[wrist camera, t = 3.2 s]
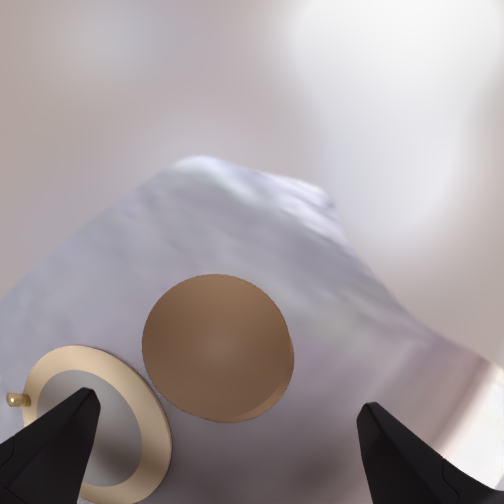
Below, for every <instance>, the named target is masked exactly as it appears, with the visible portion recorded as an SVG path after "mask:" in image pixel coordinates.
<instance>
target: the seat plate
mask: <svg viewBox="0 0 504 504" xmlns="http://www.w3.org/2000/svg"><path fill="white" fill-rule="evenodd" d="M82 387H87V388H91V389H93V390H94V391H95V392H96V395H97V397H98V399H99V402H100V404H101V411H100V416H99V420H98V425H97V430H96V435H95V440H94V444H93V448H92V451H91V454H90V458H89V461H88V464H87V467H86V471H85V474H84V478H83V481H82V485H81V488H80V492H79V497H81V498H83V499H85V500H88V501H90V502H93V503H97V504H133V503H137V502H139V501H141V500H143V499H145V498H146V497H147V496H149V495H150V494H151V493H152V492H153V491H154V490H155V489H156V488H157V487H158V486H159V484H160V483H161V482H162V480H163V478H164V477H165V475H166V473H167V470H168V468H169V465H170V460H171V454H172V440H171V432H170V428H169V424H168V421H167V417H166V414H165V412H164V410H163V408H162V406H161V403H160V402H159V400H158V398H157V396H156V395H155V393H154V392H153V390H152V389H151V388H150V386H149V385H148V383H147V382H146V381H145V380H144V379H143V378H142V377H141V376H140V375H139V374H138V373H137V372H136V371H135V370H134V369H133V368H132V367H131V366H129V365H128V364H126V363H125V362H124V361H122V360H121V359H119V358H117V357H115V356H113V355H111V354H109V353H106V352H104V351H101V350H97V349H94V348H90V347H85V346H65V347H60V348H58V349H55V350H53V351H51V352H49V353H47V354H46V355H45V356H43V357H42V358H41V359H40V360H39V361H38V362H37V363H36V364H35V365H34V367H33V368H32V370H31V372H30V373H29V376H28V378H27V380H26V383H25V387H24V391H23V394H19V393H7V395H6V400H7V403H8V405H9V406H11V407H22V413H23V421H24V426H25V427H26V426H28V425H29V424H31V423H32V422H33V421H35V420H36V419H38V418H39V417H41V416H42V415H43V414H45V413H46V412H48V411H49V410H50V409H52V408H53V407H55V406H56V405H58V404H59V403H60V402H62V401H63V400H65V399H66V398H67V397H69V396H70V395H72V394H73V393H75V392H76V391H77V390H79V389H80V388H82Z"/></svg>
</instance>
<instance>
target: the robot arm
mask: <svg viewBox="0 0 504 504" xmlns="http://www.w3.org/2000/svg"><path fill="white" fill-rule="evenodd" d="M100 411H101V404H100V402H99V399H98V397H97V395H96V392H95V391H94V390H93V389H91V388H87V387H82V388H80V389H79V390H77V391H76V392H75V393H73V394H72V395H70V396H69V397H67V398H66V399H65V400H63V401H62V402H60V403H59V404H58V405H56V406H55V407H53V408H52V409H50V410H49V411H48V412H46V413H45V414H43V415H42V416H41V417H39V418H38V419H36V420H35V421H33V422H32V423H31V424H29V425H28V426H26V427H25V428H23V429H22V430H20V431H19V432H18V433H16V434H15V435H14V436H12V437H10V438H9V439H7V440H6V441H4V442H3V443H1V444H0V504H77V500H78V496H79V492H80V488H81V485H82V481H83V478H84V474H85V471H86V467H87V464H88V461H89V458H90V454H91V451H92V448H93V444H94V440H95V435H96V430H97V425H98V420H99V416H100ZM357 428H358V435H359V442H360V449H361V456H362V461H363V465H364V469H365V473H366V477H367V481H368V485H369V489H370V493H371V497H372V501H373V504H504V491H499V490H495V489H492V488H490V487H488V486H486V485H484V484H482V483H481V482H479V481H477V480H475V479H474V478H472V477H470V476H469V475H467V474H466V473H464V472H462V471H461V470H459V469H458V468H457V467H455V466H454V465H453V464H451V463H450V462H449V461H447V460H446V459H445V458H443V457H442V456H441V455H440V454H438V453H437V452H436V451H435V450H434V449H432V448H431V447H430V446H429V445H427V444H426V443H425V442H424V441H422V440H421V439H420V438H419V437H418V436H416V435H415V434H414V433H413V432H412V431H410V430H409V429H408V428H407V427H406V426H404V425H403V424H402V423H401V422H400V421H398V420H397V419H396V418H395V417H394V416H392V415H391V414H390V413H389V412H388V411H387V410H385V409H384V408H383V407H382V406H381V405H379V404H378V403H377V402H370V403H365V404H364V405H363V407H362V409H361V411H360V413H359V415H358V417H357Z"/></svg>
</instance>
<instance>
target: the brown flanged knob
mask: <svg viewBox="0 0 504 504" xmlns="http://www.w3.org/2000/svg"><path fill="white" fill-rule="evenodd" d="M142 354H143V361H144V364H145V368H146V371H147V373H148V375H149V378H150V379H151V381H152V383H153V384H154V386H155V387H156V389H157V390H158V391H159V392H160V394H161V395H162V396H163V397H164V398H165V399H166V400H167V401H169V402H170V403H171V404H173V405H174V406H175V407H177V408H179V409H181V410H182V411H184V412H187V413H189V414H192V415H195V416H199V417H201V418H204V419H207V420H210V421H215V422H222V423H235V422H241V421H246V420H249V419H252V418H254V417H256V416H259V415H261V414H262V413H264V412H265V411H267V410H268V409H270V408H271V407H272V406H273V405H274V404H275V403H276V402H277V401H278V400H279V399H280V398H281V396H282V395H283V393H284V392H285V390H286V388H287V386H288V384H289V382H290V379H291V376H292V372H293V367H294V351H293V345H292V341H291V338H290V336H289V333H288V328H287V325H286V322H285V320H284V317H283V315H282V314H281V312H280V310H279V308H278V307H277V306H276V304H275V303H274V302H273V300H272V299H271V298H270V297H269V296H268V295H267V294H266V293H264V292H263V291H262V290H261V289H260V288H258V287H256V286H255V285H253V284H252V283H249V282H247V281H245V280H243V279H240V278H237V277H234V276H228V275H220V274H210V275H202V276H197V277H193V278H190V279H187V280H185V281H183V282H181V283H179V284H177V285H176V286H174V287H172V288H171V289H170V290H169V291H167V292H166V293H165V294H164V295H163V296H162V297H161V298H160V299H159V300H158V302H157V303H156V304H155V305H154V307H153V309H152V310H151V312H150V314H149V316H148V318H147V321H146V323H145V327H144V331H143V337H142Z"/></svg>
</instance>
